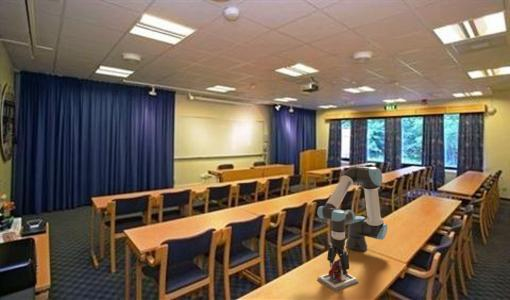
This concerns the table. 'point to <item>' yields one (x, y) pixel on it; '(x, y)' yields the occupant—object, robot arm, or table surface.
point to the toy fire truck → (336, 270)
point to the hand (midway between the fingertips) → (337, 276)
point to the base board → (337, 282)
